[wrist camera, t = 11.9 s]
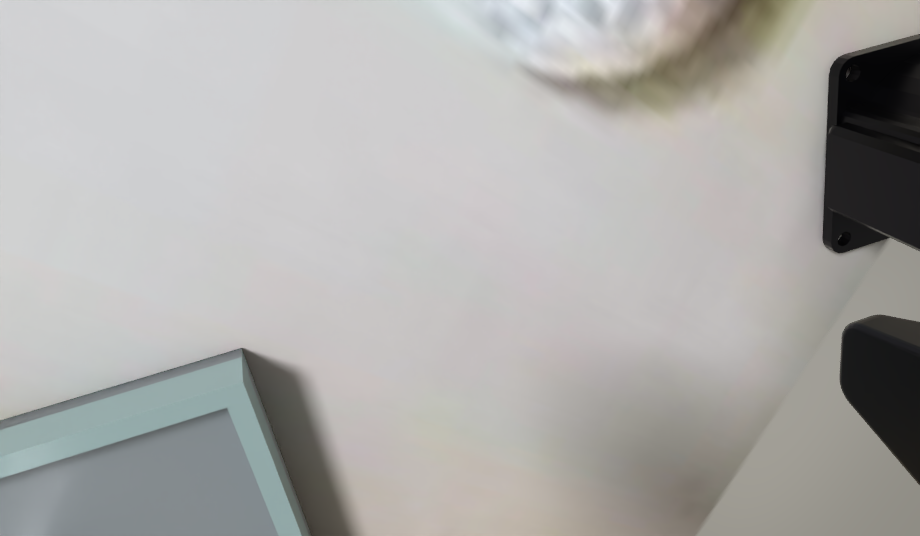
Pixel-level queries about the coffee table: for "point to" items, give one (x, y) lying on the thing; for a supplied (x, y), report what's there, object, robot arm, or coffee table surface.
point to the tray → (150, 460)
